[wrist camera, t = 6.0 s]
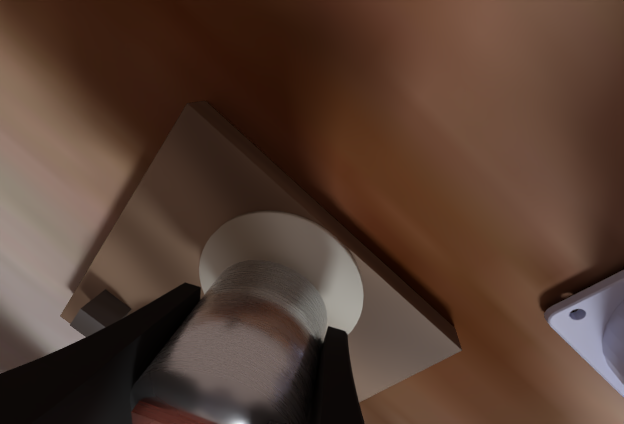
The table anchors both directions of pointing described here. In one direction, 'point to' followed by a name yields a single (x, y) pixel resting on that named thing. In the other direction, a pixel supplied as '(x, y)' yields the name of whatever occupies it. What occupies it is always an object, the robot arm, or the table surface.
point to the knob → (239, 353)
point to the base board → (253, 251)
